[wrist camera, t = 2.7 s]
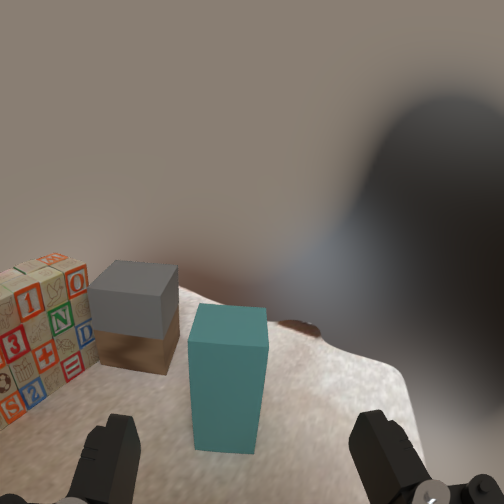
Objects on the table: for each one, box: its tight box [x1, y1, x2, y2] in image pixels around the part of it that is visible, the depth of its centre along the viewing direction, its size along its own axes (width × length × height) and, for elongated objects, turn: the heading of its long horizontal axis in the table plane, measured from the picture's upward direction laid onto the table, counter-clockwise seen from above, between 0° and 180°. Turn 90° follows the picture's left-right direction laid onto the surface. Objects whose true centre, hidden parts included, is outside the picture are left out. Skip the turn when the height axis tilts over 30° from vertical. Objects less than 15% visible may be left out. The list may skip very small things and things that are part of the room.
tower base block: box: [93, 305, 180, 375], centre depth 34 cm, size 8×8×5 cm
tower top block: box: [87, 260, 179, 340], centre depth 33 cm, size 8×8×5 cm
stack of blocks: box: [0, 253, 100, 431], centre depth 22 cm, size 21×6×12 cm, turn 158°
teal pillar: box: [188, 303, 269, 454], centre depth 23 cm, size 5×5×12 cm
